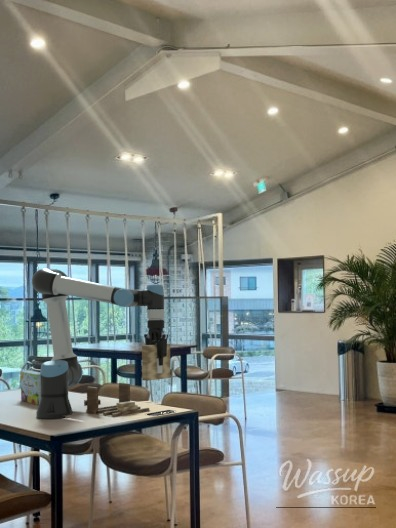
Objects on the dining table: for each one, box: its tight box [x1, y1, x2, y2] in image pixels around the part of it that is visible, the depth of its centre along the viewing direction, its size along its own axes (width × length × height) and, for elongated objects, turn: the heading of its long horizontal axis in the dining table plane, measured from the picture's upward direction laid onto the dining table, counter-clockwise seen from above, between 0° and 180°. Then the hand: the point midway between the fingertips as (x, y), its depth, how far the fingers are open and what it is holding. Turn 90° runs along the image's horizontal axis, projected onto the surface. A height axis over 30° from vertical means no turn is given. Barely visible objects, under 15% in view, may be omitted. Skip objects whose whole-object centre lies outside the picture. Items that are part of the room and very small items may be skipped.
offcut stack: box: [115, 400, 139, 413], centre depth 282 cm, size 9×4×4 cm, turn 137°
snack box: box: [20, 369, 41, 406], centre depth 327 cm, size 21×6×15 cm, turn 37°
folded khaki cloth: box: [141, 343, 171, 382], centre depth 289 cm, size 14×3×15 cm, turn 137°
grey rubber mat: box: [146, 409, 175, 416], centre depth 288 cm, size 14×11×1 cm
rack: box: [84, 382, 151, 418], centre depth 286 cm, size 22×19×12 cm
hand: (156, 372), depth 289 cm, fingers closed on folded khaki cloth, 3 cm apart
